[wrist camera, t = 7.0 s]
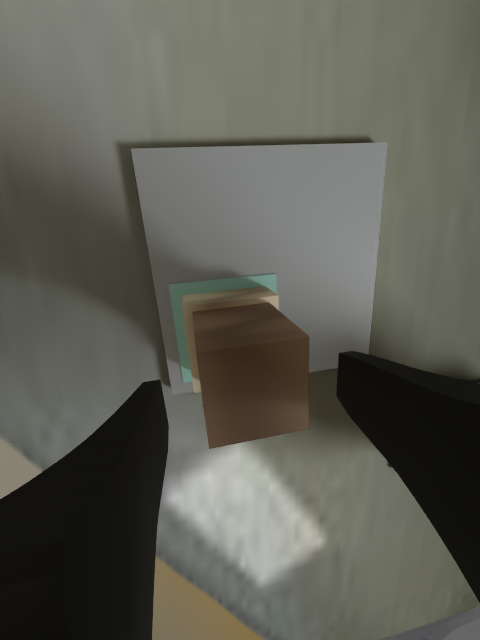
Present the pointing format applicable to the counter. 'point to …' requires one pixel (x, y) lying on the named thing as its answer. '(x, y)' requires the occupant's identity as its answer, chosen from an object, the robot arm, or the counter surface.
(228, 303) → the base block
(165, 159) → the board
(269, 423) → the walnut block
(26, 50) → the counter surface
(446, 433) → the robot arm
